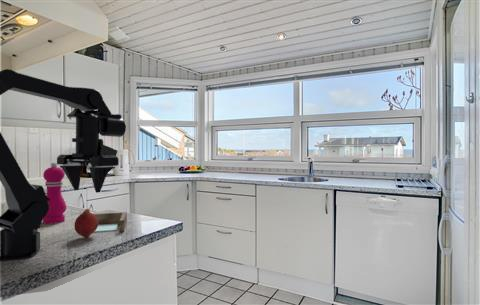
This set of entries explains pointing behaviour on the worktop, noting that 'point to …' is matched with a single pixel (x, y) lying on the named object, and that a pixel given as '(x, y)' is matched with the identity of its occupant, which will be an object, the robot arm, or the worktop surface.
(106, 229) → the pad
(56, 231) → the worktop surface
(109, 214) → the arena
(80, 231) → the onion
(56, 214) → the pepper mill
